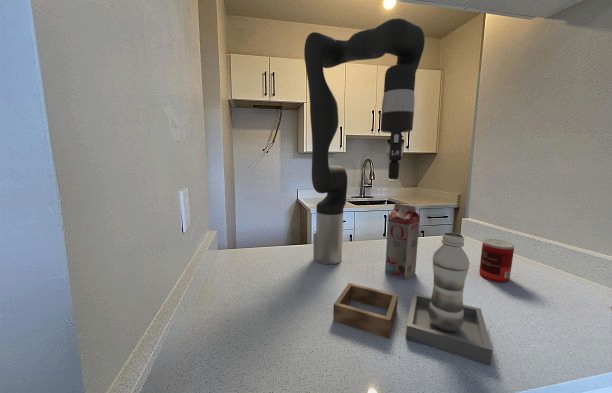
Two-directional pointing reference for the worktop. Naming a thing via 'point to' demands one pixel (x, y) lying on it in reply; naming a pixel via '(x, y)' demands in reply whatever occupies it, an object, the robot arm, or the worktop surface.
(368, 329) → the open wooden box
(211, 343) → the worktop surface
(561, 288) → the worktop surface
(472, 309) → the tray
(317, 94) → the robot arm
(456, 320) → the plastic bottle
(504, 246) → the canned food
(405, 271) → the juice carton
